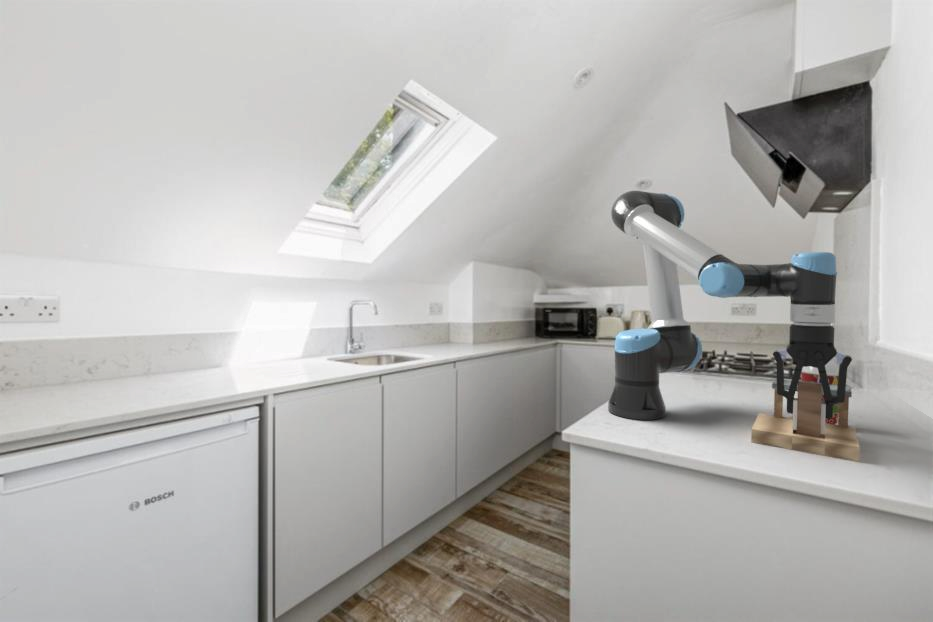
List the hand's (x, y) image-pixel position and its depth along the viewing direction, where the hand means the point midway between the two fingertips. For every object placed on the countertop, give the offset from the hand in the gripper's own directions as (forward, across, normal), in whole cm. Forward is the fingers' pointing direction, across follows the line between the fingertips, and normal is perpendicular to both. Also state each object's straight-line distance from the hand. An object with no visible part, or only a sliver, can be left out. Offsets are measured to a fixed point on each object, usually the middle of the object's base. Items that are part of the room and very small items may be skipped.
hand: (808, 430), depth 93 cm
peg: (+2, 0, 0) cm, 2 cm away
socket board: (+4, -1, +4) cm, 5 cm away
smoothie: (+4, +2, +22) cm, 22 cm away
